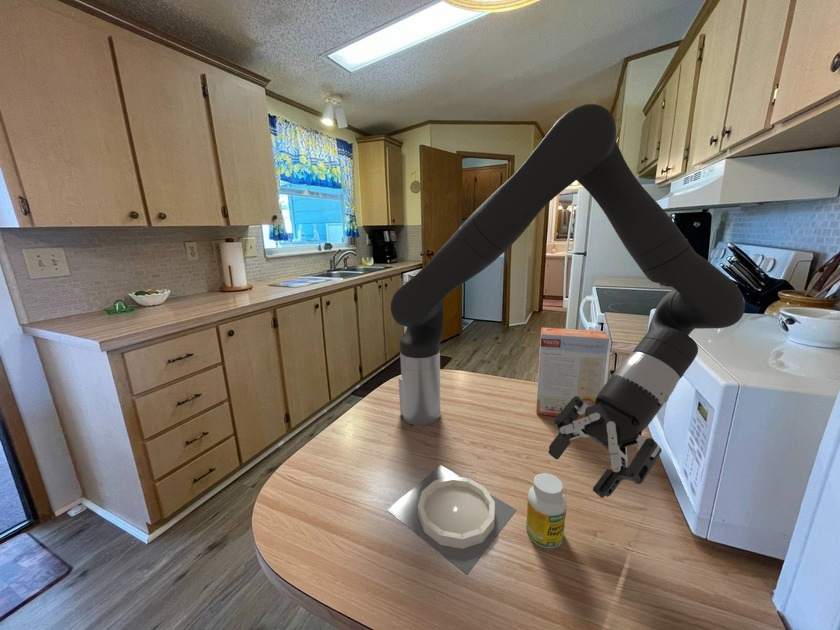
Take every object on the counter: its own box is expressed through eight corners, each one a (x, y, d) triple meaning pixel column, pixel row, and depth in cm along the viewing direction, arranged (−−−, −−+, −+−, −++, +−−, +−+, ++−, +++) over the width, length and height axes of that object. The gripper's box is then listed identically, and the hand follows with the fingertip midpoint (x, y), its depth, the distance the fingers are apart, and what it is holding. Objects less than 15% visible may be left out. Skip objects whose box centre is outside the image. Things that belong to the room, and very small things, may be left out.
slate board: (387, 512, 56) (386, 509, 56) (440, 467, 66) (440, 465, 66) (466, 577, 46) (466, 574, 45) (516, 512, 55) (516, 509, 55)
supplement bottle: (540, 514, 55) (544, 464, 52) (570, 538, 51) (576, 485, 48) (517, 531, 52) (521, 479, 50) (547, 558, 48) (552, 503, 45)
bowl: (404, 516, 55) (403, 507, 54) (449, 475, 63) (449, 467, 63) (465, 564, 47) (465, 554, 46) (508, 510, 55) (508, 501, 55)
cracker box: (595, 410, 84) (605, 330, 78) (599, 423, 78) (610, 338, 73) (535, 402, 88) (541, 325, 83) (535, 414, 83) (541, 333, 77)
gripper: (587, 359, 56) (528, 436, 55) (678, 398, 44) (603, 500, 43) (606, 381, 60) (551, 455, 59) (696, 424, 47) (627, 519, 46)
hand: (573, 474), depth 51 cm, fingers open, 8 cm apart
